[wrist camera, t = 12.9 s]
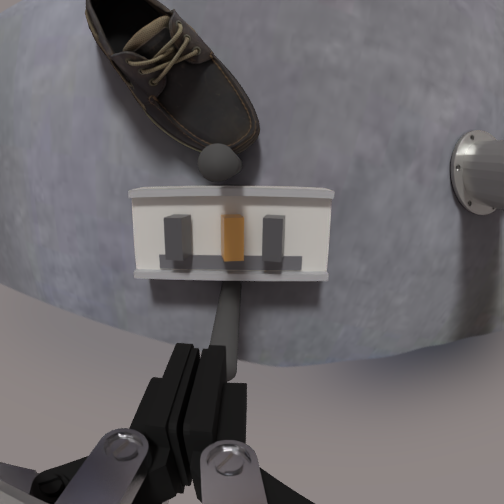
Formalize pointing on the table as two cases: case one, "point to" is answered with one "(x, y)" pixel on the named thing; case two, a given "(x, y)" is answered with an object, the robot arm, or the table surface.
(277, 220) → the grey block
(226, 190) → the breaker panel
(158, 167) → the table surface
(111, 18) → the boat shoe
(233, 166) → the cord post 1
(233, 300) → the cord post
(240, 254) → the rectangular block
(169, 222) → the grey block
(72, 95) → the table surface
